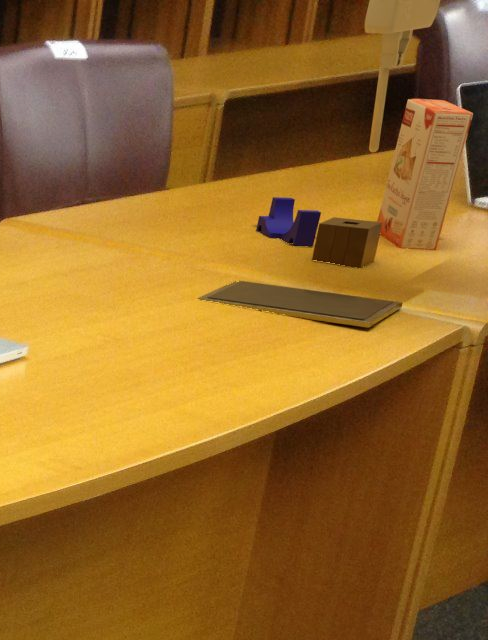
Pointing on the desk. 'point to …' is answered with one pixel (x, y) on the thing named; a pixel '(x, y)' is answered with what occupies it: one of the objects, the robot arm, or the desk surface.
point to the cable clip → (289, 223)
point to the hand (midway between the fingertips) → (390, 67)
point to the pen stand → (347, 241)
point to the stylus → (379, 109)
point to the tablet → (305, 303)
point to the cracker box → (423, 172)
